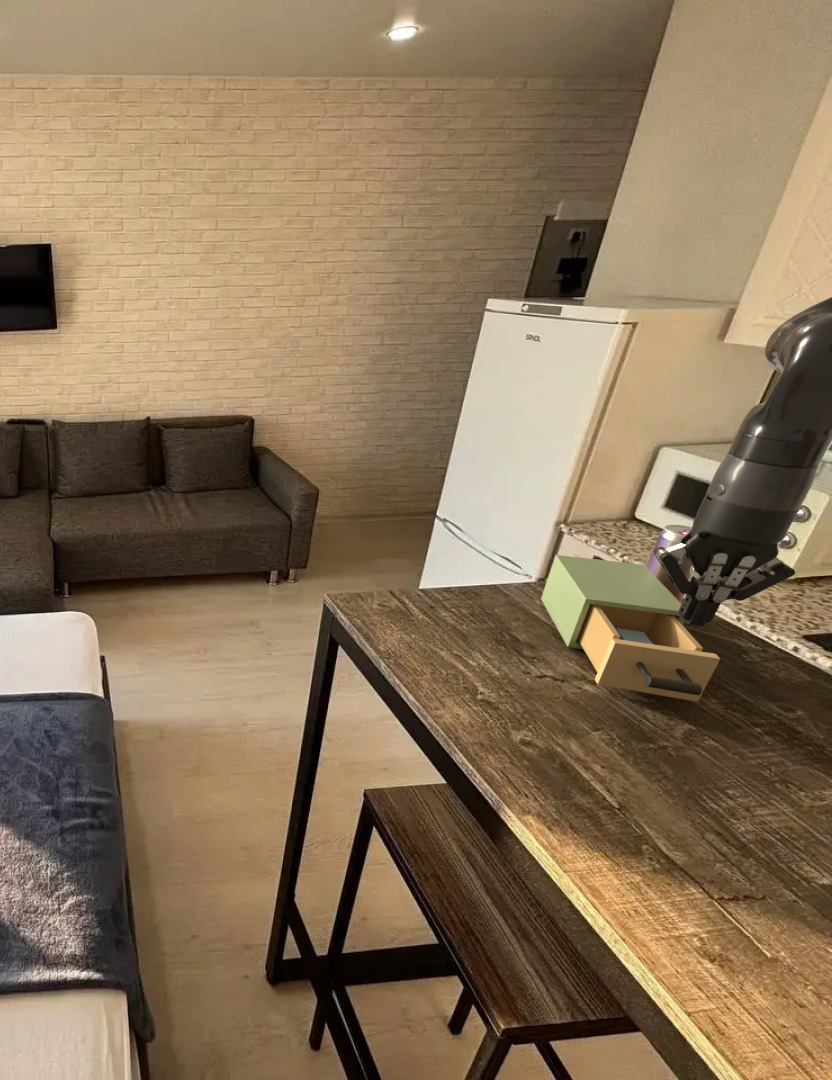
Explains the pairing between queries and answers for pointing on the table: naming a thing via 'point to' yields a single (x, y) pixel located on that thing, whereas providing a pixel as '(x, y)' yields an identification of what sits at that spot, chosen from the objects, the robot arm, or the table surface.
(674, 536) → the beverage can
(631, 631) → the light blue rectangular block
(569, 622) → the cabinet
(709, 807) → the table surface
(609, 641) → the drawer
